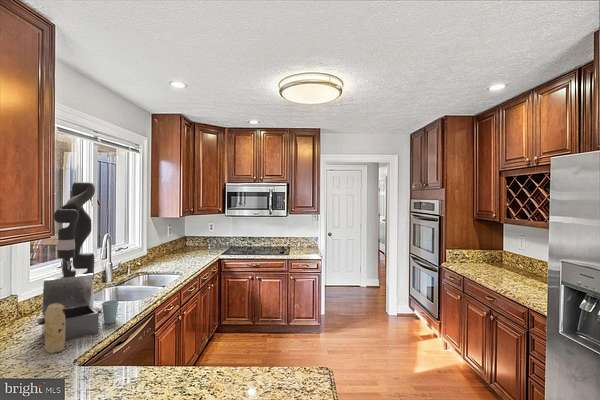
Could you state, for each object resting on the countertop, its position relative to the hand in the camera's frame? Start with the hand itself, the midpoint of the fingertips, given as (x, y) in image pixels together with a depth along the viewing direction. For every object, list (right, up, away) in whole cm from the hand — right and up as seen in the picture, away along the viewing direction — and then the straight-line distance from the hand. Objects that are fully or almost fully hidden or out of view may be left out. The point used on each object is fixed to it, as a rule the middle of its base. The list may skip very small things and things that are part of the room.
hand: (66, 282), depth 179 cm
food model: (+13, -23, -27) cm, 38 cm away
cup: (+18, -23, +9) cm, 31 cm away
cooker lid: (+4, -3, -4) cm, 6 cm away
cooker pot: (+7, -23, -8) cm, 25 cm away
